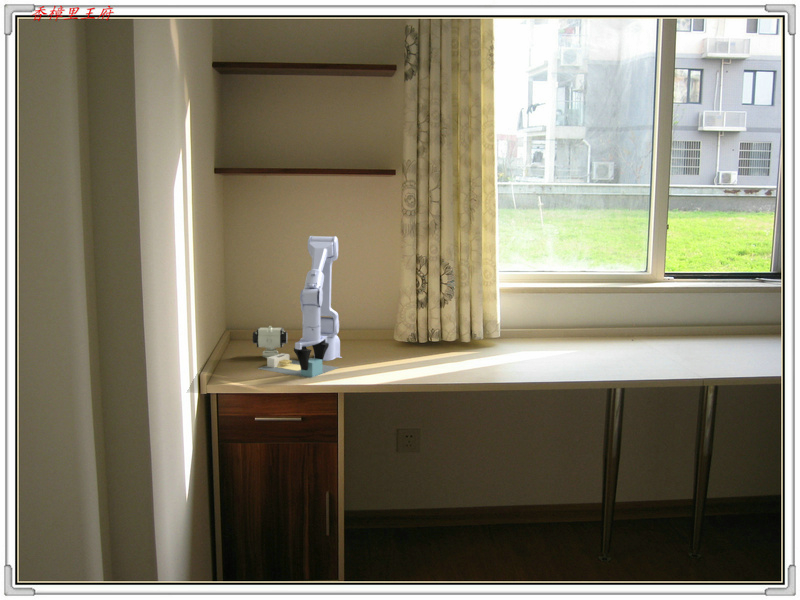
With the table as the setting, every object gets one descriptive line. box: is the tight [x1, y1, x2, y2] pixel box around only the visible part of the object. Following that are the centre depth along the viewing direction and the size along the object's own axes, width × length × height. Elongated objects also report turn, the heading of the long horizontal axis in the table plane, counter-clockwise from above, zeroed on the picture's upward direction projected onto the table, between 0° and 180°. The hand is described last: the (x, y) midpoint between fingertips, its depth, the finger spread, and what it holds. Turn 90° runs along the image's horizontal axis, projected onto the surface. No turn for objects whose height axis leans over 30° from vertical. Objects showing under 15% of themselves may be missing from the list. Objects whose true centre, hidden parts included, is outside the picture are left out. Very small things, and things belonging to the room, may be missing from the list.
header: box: [266, 352, 292, 368], centre depth 235 cm, size 8×6×3 cm
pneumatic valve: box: [252, 325, 289, 359], centre depth 246 cm, size 6×12×12 cm, turn 93°
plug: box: [301, 357, 323, 378], centre depth 224 cm, size 5×5×5 cm
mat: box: [257, 358, 340, 379], centre depth 232 cm, size 16×22×1 cm
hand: (311, 367), depth 223 cm, fingers open, 7 cm apart
